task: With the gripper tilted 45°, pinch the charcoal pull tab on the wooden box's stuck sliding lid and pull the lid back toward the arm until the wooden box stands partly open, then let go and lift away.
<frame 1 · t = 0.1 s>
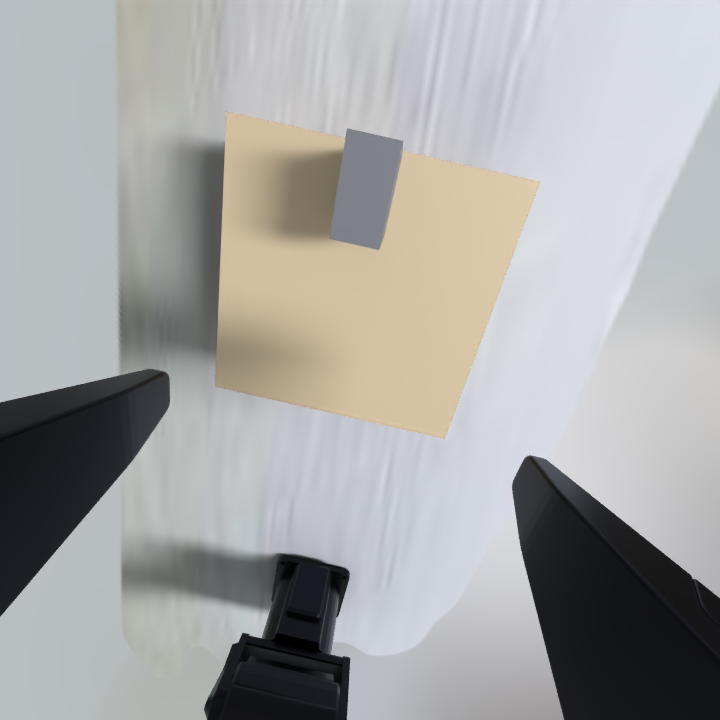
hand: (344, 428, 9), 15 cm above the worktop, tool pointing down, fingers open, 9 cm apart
sliding lid: (346, 312, 15), point 8 cm above the worktop, slide at 0.0 cm
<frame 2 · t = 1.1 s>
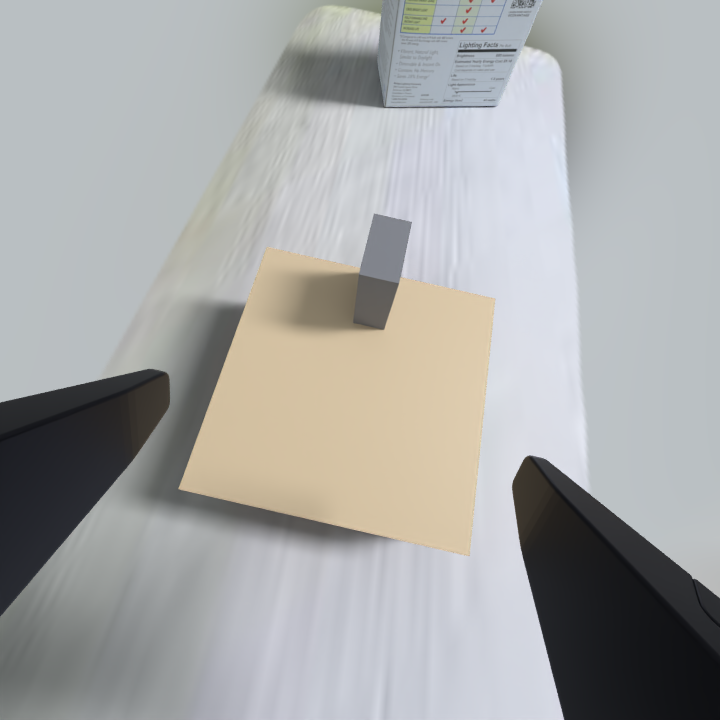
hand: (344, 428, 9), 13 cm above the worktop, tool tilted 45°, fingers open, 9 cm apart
light bulb box: (435, 85, 33), on the worktop
sliding lid: (358, 370, 15), point 8 cm above the worktop, slide at 0.0 cm
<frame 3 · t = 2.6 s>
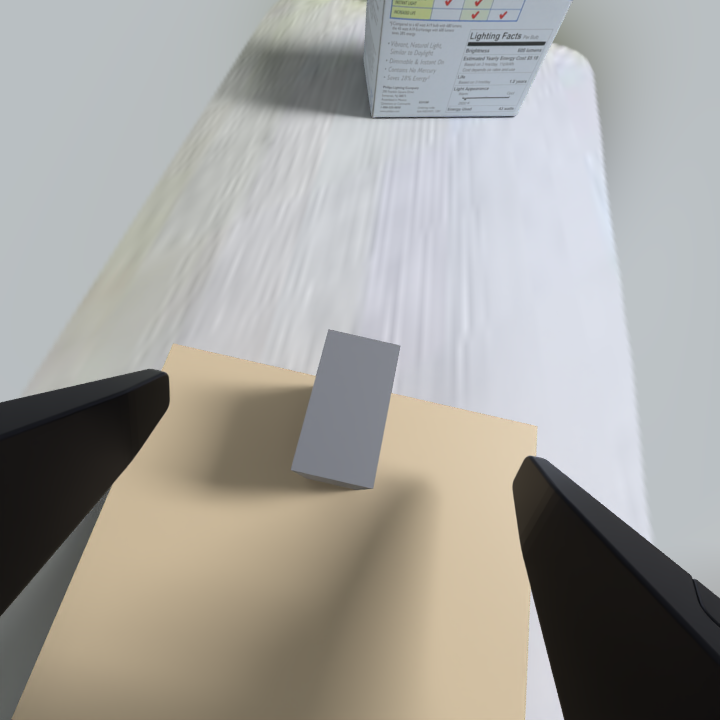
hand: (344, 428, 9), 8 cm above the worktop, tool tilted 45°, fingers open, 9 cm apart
light bulb box: (436, 90, 26), on the worktop
sliding lid: (300, 620, 8), point 8 cm above the worktop, slide at 0.0 cm
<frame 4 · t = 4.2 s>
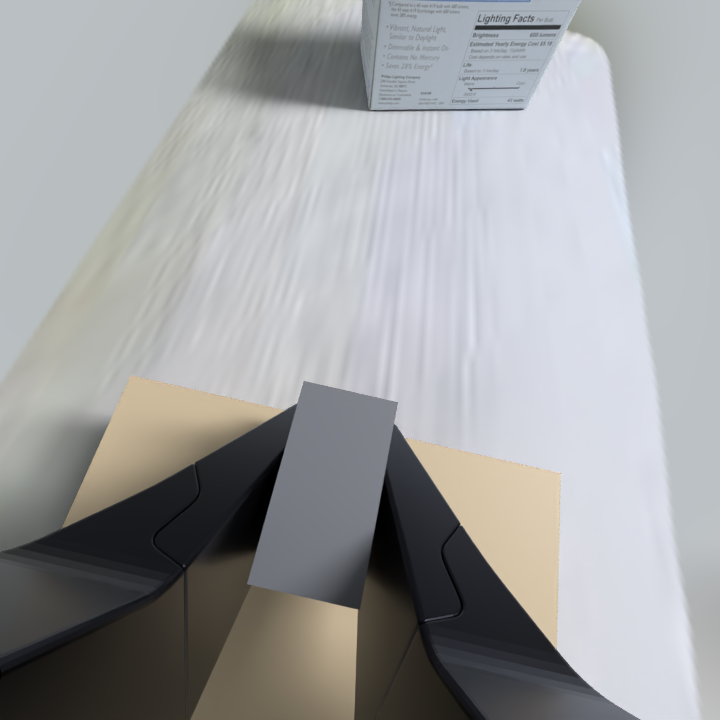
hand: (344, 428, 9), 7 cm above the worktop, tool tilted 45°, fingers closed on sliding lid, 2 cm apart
light bulb box: (439, 80, 24), on the worktop
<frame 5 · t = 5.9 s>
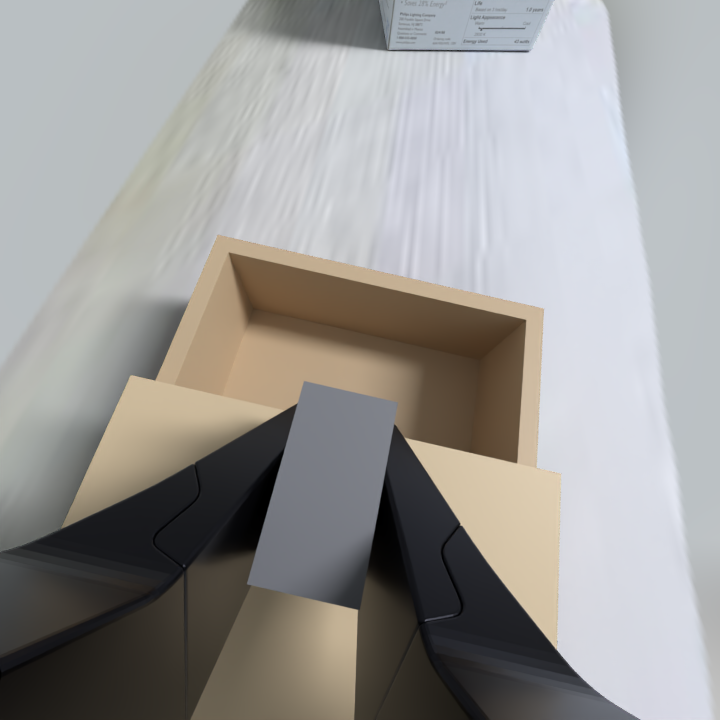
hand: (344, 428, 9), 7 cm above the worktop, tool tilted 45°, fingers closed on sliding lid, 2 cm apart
light bulb box: (451, 26, 26), on the worktop
wooden box: (339, 452, 16), on the worktop
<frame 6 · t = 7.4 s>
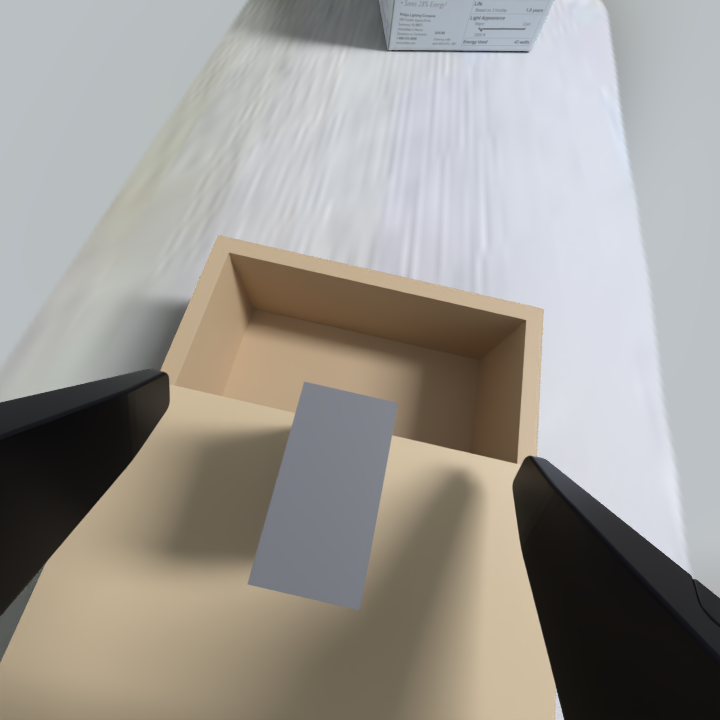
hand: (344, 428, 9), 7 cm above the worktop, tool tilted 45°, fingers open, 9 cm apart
light bulb box: (451, 27, 27), on the worktop
wooden box: (339, 452, 16), on the worktop
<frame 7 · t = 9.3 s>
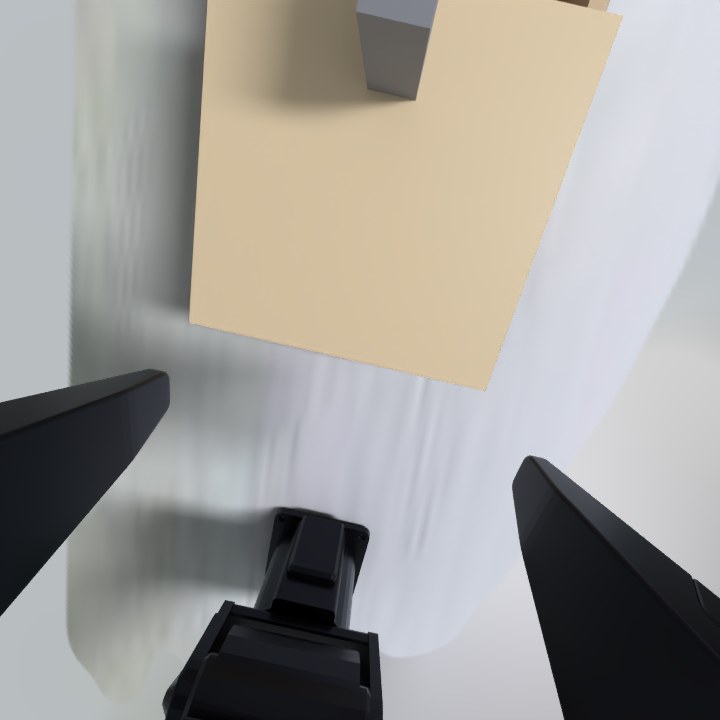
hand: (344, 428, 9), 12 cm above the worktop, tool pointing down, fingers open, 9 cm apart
wooden box: (406, 64, 16), on the worktop
sliding lid: (368, 187, 11), point 8 cm above the worktop, slide at 6.0 cm
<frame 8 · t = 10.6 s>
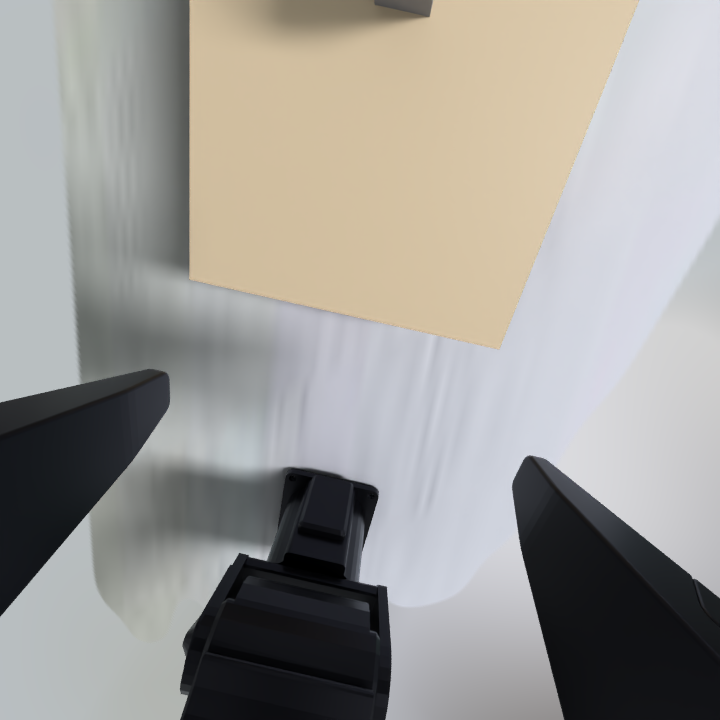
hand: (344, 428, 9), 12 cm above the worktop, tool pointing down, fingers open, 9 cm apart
sliding lid: (375, 121, 10), point 8 cm above the worktop, slide at 6.0 cm
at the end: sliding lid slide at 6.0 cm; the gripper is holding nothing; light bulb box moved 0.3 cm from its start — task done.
